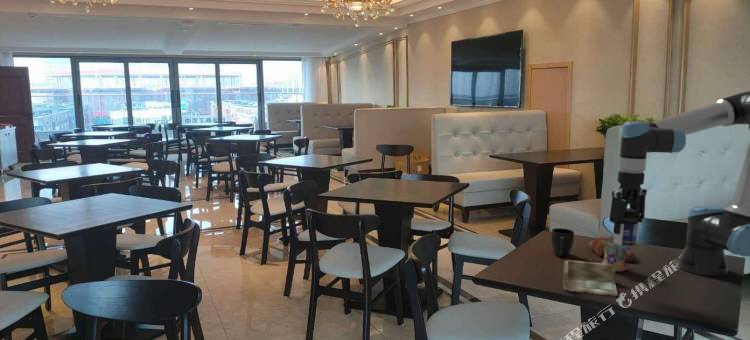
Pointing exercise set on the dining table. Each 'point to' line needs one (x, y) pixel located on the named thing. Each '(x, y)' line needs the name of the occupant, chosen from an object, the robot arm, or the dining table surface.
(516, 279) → the dining table surface
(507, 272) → the dining table surface
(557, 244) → the mug
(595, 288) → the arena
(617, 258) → the mug
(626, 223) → the pill bottle
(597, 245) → the pastry
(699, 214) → the robot arm
